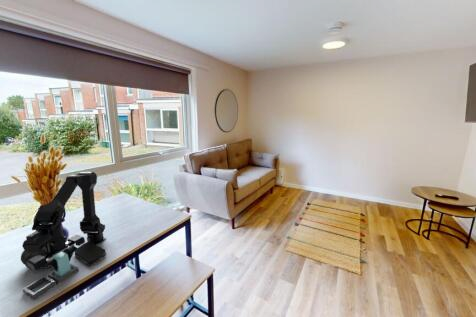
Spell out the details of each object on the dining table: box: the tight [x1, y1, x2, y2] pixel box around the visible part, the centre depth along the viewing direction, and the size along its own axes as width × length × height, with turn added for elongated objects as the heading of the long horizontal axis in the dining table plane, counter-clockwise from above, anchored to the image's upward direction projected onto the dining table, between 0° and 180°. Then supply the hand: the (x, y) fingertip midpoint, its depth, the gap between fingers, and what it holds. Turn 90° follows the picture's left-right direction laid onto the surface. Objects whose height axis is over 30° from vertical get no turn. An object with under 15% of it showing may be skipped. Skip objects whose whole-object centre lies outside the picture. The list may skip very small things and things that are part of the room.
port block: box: [22, 275, 57, 301], centre depth 84 cm, size 7×7×2 cm
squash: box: [20, 249, 64, 270], centre depth 97 cm, size 14×15×15 cm
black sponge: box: [74, 241, 107, 267], centre depth 103 cm, size 16×8×4 cm, turn 60°
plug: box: [53, 252, 71, 278], centre depth 91 cm, size 4×4×9 cm
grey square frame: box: [47, 263, 80, 284], centre depth 92 cm, size 8×8×2 cm
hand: (62, 267), depth 91 cm, fingers closed on plug, 4 cm apart
